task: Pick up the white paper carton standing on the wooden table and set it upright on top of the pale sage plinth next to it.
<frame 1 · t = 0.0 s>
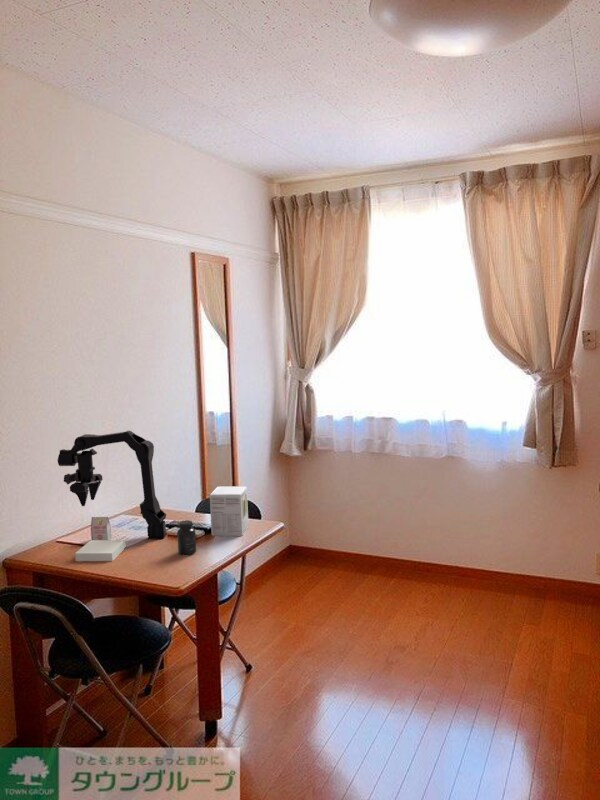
hand: (88, 502, 247), 15 cm above the table, tool pointing down, fingers open, 9 cm apart
white paper carton: (101, 541, 244), on the table
supplement box: (230, 531, 252), on the table
supplement bottle: (187, 553, 228), on the table
plinth: (101, 554, 229), on the table
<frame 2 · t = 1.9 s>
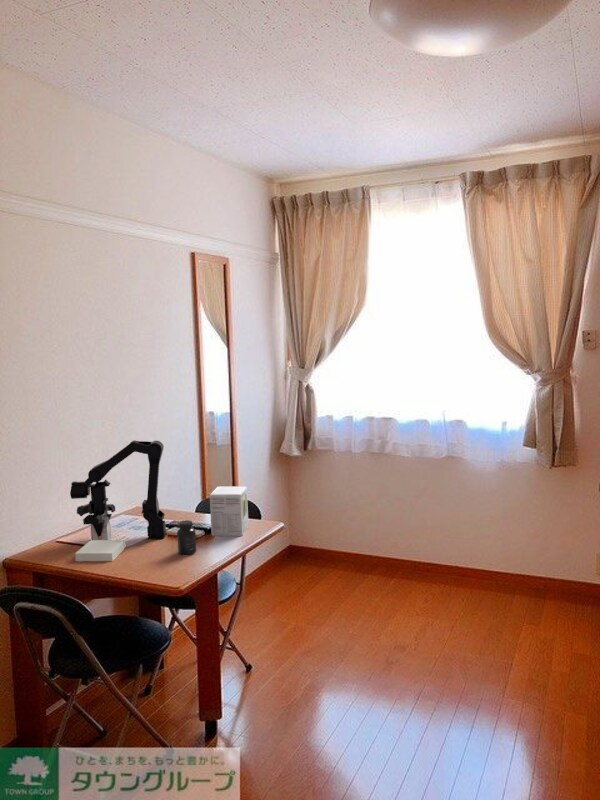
hand: (101, 534, 244), 3 cm above the table, tool pointing down, fingers closed on white paper carton, 4 cm apart
white paper carton: (101, 541, 244), on the table, touching gripper
everything else where it was.
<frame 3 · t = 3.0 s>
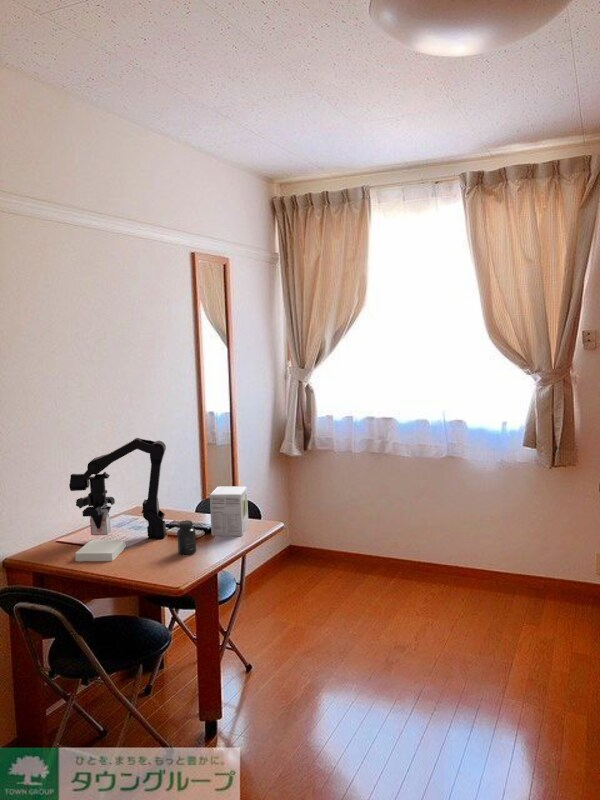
hand: (100, 526, 244), 6 cm above the table, tool pointing down, fingers closed on white paper carton, 4 cm apart
white paper carton: (101, 534, 244), point 3 cm above the table, touching gripper
everything else where it was.
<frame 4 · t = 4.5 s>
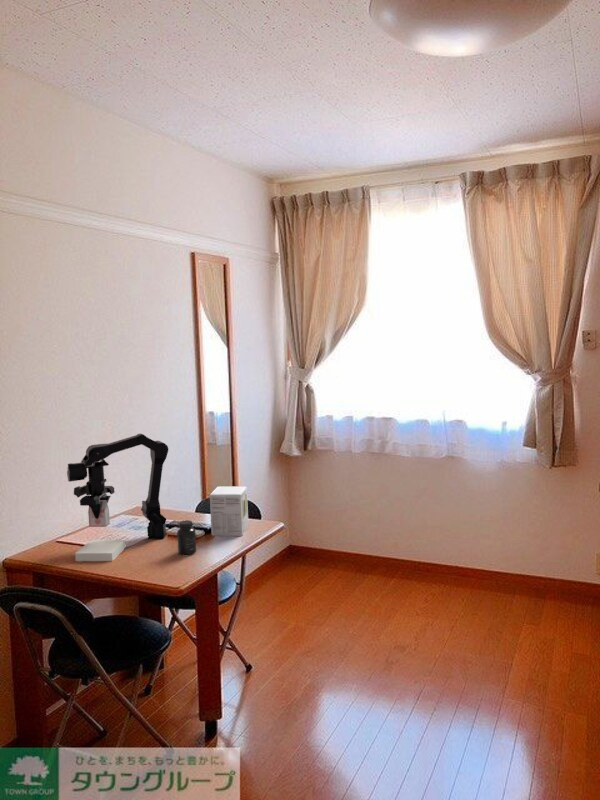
hand: (99, 516, 235), 12 cm above the table, tool pointing down, fingers closed on white paper carton, 4 cm apart
white paper carton: (99, 525, 235), point 9 cm above the table, touching gripper
everything else where it was.
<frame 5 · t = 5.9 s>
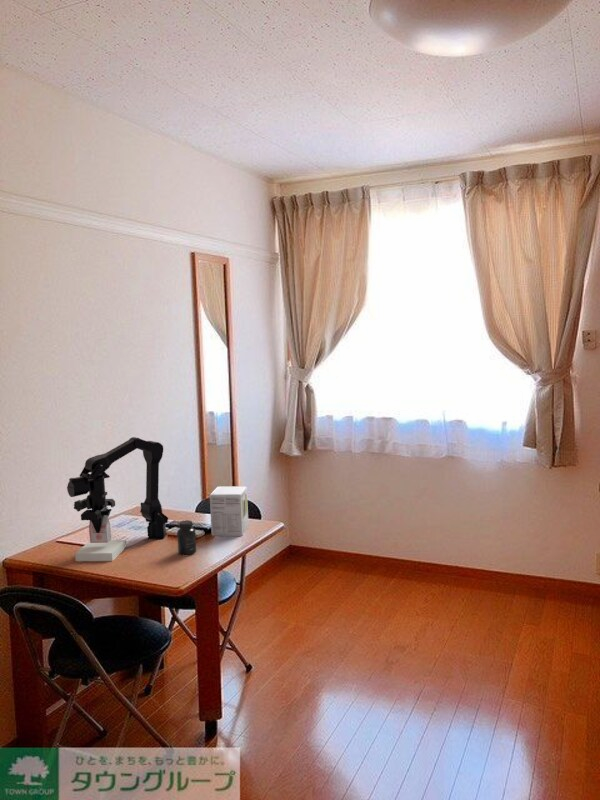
hand: (100, 531, 228), 9 cm above the table, tool pointing down, fingers closed on white paper carton, 4 cm apart
white paper carton: (100, 541, 229), point 5 cm above the table, touching gripper
everything else where it was.
when the fingers open (7 cm above the table, at t = 6.7 s): white paper carton stays where it is, resting on plinth.
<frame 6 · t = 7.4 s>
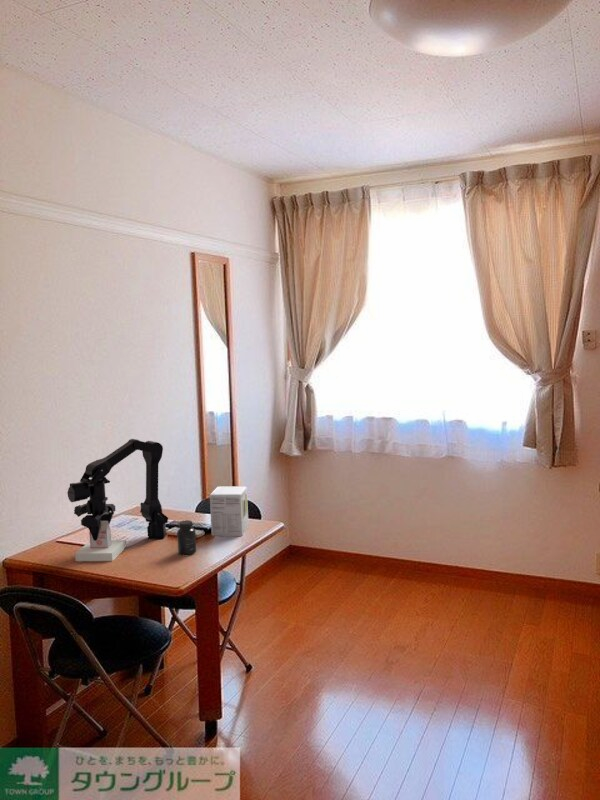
hand: (100, 536, 228), 7 cm above the table, tool pointing down, fingers open, 9 cm apart
white paper carton: (101, 546, 229), point 3 cm above the table, touching plinth
everything else where it was.
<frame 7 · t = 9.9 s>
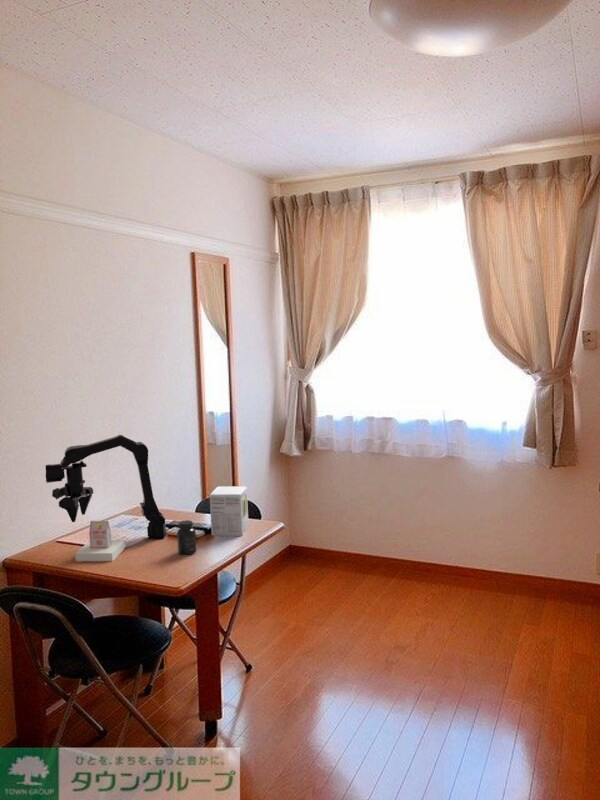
hand: (78, 518, 234), 12 cm above the table, tool pointing down, fingers open, 9 cm apart
nothing on the table moved.
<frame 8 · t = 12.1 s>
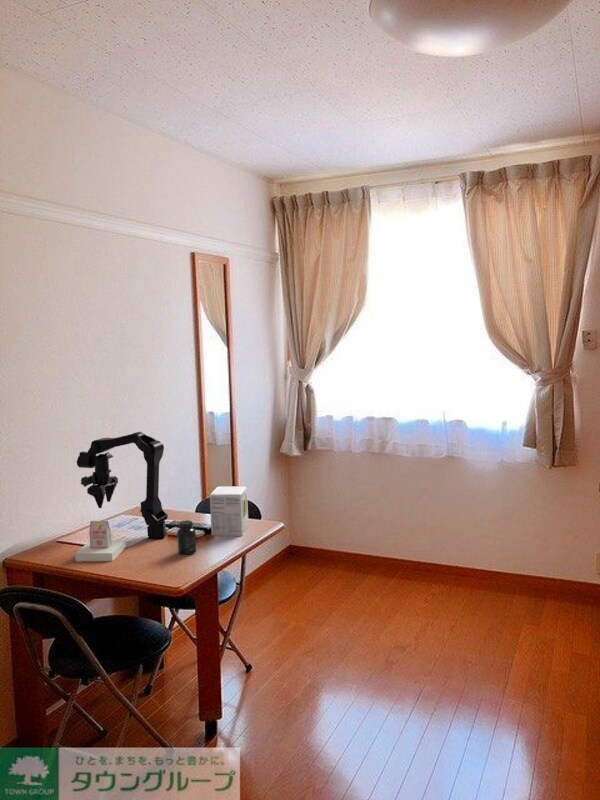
hand: (104, 504, 253), 12 cm above the table, tool pointing down, fingers open, 9 cm apart
nothing on the table moved.
at the end: white paper carton inside the target area on the plinth (0.1 cm from its centre), point 2.8 cm above the plinth's base; white paper carton tilted 0°; white paper carton touching plinth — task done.
